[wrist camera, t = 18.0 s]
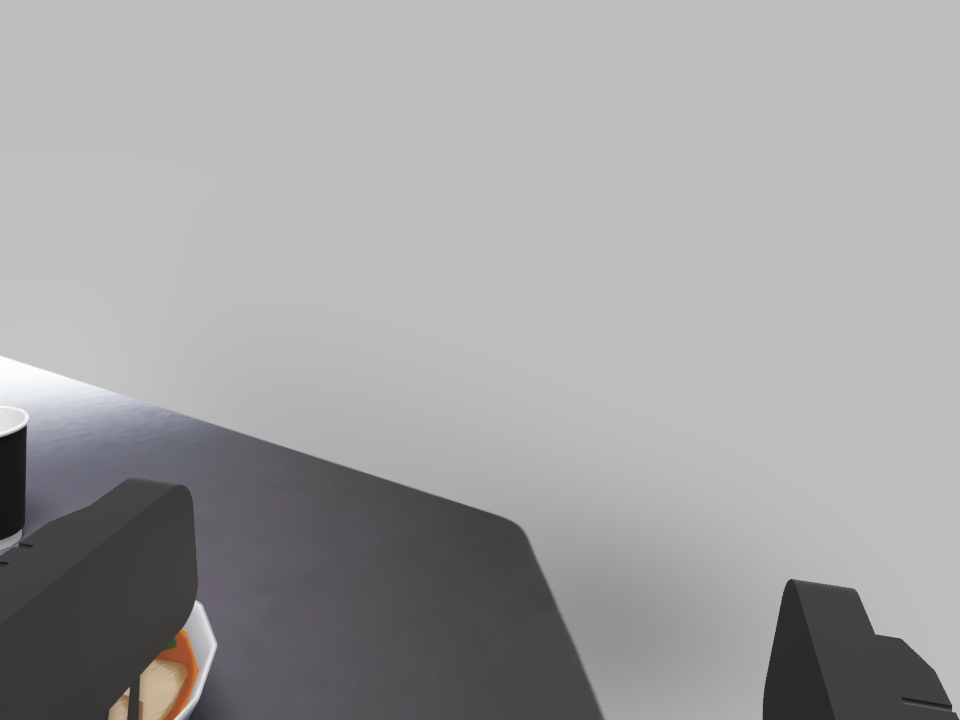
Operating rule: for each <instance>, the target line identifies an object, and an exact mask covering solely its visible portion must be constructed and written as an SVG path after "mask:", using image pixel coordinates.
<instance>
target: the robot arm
mask: <svg viewBox="0 0 960 720" xmlns="http://www.w3.org/2000/svg"><path fill="white" fill-rule="evenodd" d="M197 587H198V578H197V562H196V546H195V530H194V514H193V501H192V496H191V494H190V491H189V490H188V488H187V487H185V486H183V485H179V484H173V483H166V482H160V481H153V480H146V479H140V478H130V479H127V480H126V481H124V482H122V483H121V484H120V485H118V486H117V487H115V488H114V489H113V490H111V491H110V492H108V493H107V494H106V495H104V496H103V497H101V498H100V499H99V500H97V501H96V502H94V503H93V504H92V505H90V506H88V507H85V508H83V509H80V510H78V511H75V512H73V513H71V514H68V515H66V516H63V517H61V518H58V519H56V520H53V521H51V522H49V523H47V524H46V525H44V526H43V527H41V528H40V529H38V530H37V531H36V532H34V533H33V534H31V535H30V536H28V537H27V538H26V539H24V540H23V541H21V542H20V543H19V546H18V548H15V547H13V548H11V549H10V550H8V551H7V552H5V553H4V554H2V555H1V556H0V720H101V719H102V717H103V716H104V715H105V714H106V713H107V712H108V711H109V710H110V709H111V707H112V706H113V705H114V704H115V703H116V702H117V701H118V700H119V698H120V697H121V696H122V695H123V694H124V693H125V692H126V691H127V690H128V688H129V687H130V686H131V685H132V684H133V683H134V682H135V681H136V680H137V678H138V677H139V676H140V675H141V674H142V673H143V672H144V671H145V669H146V668H147V667H148V666H149V665H150V664H151V663H152V662H153V661H154V659H155V658H156V657H157V656H158V655H159V654H160V653H161V652H162V651H163V649H164V648H165V647H166V646H167V645H168V644H169V643H170V642H171V641H172V639H173V638H174V637H175V636H176V635H177V634H178V633H179V632H180V630H181V629H182V628H183V627H184V625H185V624H186V622H187V621H188V619H189V617H190V614H191V612H192V610H193V607H194V604H195V600H196V595H197ZM763 720H959V719H958V717H957V714H956V713H954V712H952V704H951V702H950V700H949V698H948V697H947V694H946V692H945V690H944V689H943V686H942V684H941V682H940V680H939V678H938V676H937V674H936V672H935V671H934V670H933V669H932V668H931V667H930V666H929V665H928V664H927V663H926V662H925V661H924V660H923V659H922V658H921V657H920V656H919V655H918V654H917V653H916V652H914V650H912V649H911V648H910V647H909V646H908V645H907V644H906V643H905V642H904V641H903V640H902V639H900V638H894V637H887V636H881V635H875V633H874V630H873V628H872V626H871V623H870V621H869V618H868V616H867V614H866V611H865V609H864V607H863V604H862V602H861V600H860V597H859V595H858V593H857V591H856V590H854V589H853V588H846V587H839V586H833V585H827V584H820V583H813V582H807V581H800V580H793V579H790V580H789V581H788V582H787V584H786V586H785V589H784V592H783V597H782V601H781V606H780V611H779V616H778V622H777V626H776V632H775V637H774V642H773V647H772V652H771V657H770V662H769V667H768V672H767V677H766V682H765V689H764V698H763Z"/></svg>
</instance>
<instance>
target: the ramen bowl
mask: <svg viewBox="0 0 960 720" xmlns="http://www.w3.org/2000/svg"><path fill="white" fill-rule="evenodd" d="M217 646H218V644H217V642H216V639H215V636H214V634H213V631H212V628H211V626H210V623H209V620H208V618H207V615H206V612H205V610H204V607H203V604H201V603H200V602H198V601H197V600H195V604H194V607H193V610H192V612H191V614H190V617H189V619H188V621H187V622H186V624H185V625H184V627H183V628H182V629H181V630H180V632H179V633H178V634H177V635H176V636H175V637H174V638H173V639H172V641H171V642H170V643H169V644H168V645H167V646H166V647H165V648H164V649H163V651H162V652H161V653H160V654H159V655H158V656H157V657H156V658H155V659H154V661H153V662H152V663H151V664H150V665H149V666H148V667H147V668H146V669H145V671H144V672H143V673H142V674H141V675H140V676H139V677H138V678H137V680H136V681H135V682H134V683H133V684H132V685H131V686H130V687H129V688H128V690H127V691H126V692H125V693H124V694H123V695H122V696H121V697H120V698H119V700H118V701H117V702H116V703H115V704H114V705H113V706H112V707H111V709H110V710H109V711H108V712H107V713H106V714H105V715H104V716H103V717H102V719H101V720H189V718H190V716H191V714H192V712H193V710H194V708H195V706H196V704H197V702H198V700H199V698H200V696H201V693H202V690H203V687H204V684H205V681H206V678H207V675H208V672H209V669H210V666H211V663H212V660H213V657H214V655H215V652H216V649H217Z"/></svg>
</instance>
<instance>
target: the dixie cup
mask: <svg viewBox="0 0 960 720" xmlns="http://www.w3.org/2000/svg"><path fill="white" fill-rule="evenodd" d="M29 421H30V415H29V414H28V413H27V412H26V411H24V410H22V409H20V408H16V407H10V406H0V550H2V549H5V548H8V547H10V546H12V545H13V544H15V543H16V542H18V541H19V540H20V538H21V536H22V528H23V527H24V524H25V486H26V435H27V424H28V423H29Z"/></svg>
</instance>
